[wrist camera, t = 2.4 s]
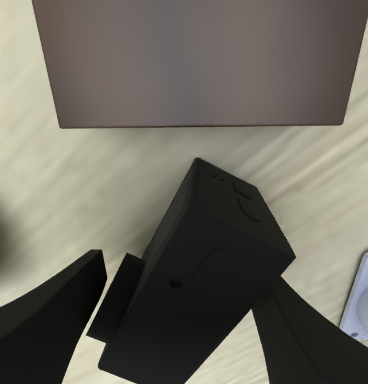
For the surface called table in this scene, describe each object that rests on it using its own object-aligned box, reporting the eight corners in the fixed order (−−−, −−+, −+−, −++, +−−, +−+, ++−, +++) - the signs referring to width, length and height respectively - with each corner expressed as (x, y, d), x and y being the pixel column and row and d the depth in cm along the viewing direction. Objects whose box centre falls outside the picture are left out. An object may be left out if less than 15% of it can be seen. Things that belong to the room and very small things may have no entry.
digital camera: (179, 145, 14) (158, 188, 7) (257, 185, 14) (300, 258, 8) (120, 265, 18) (72, 362, 11) (183, 293, 18) (172, 400, 12)
